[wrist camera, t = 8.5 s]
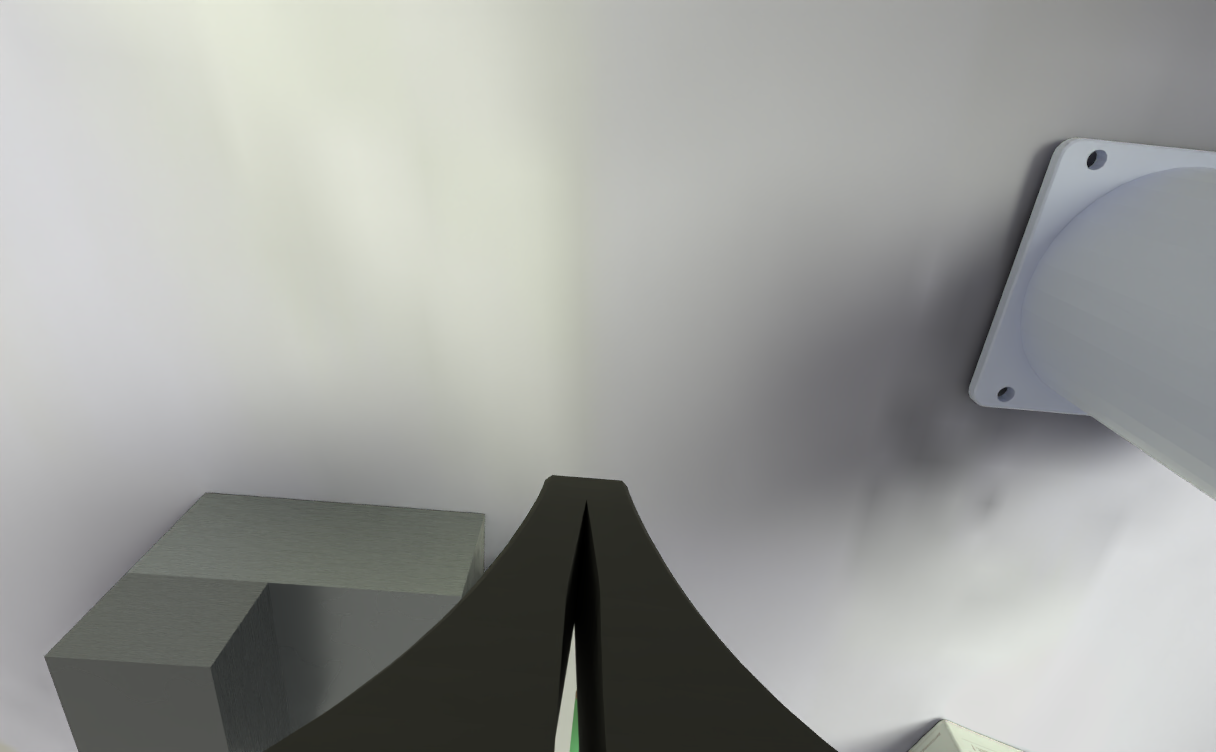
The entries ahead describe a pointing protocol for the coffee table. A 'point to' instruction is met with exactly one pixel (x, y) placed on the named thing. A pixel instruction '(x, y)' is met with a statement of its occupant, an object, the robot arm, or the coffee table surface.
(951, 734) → the supplement box
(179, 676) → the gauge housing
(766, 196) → the coffee table surface
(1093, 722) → the coffee table surface
